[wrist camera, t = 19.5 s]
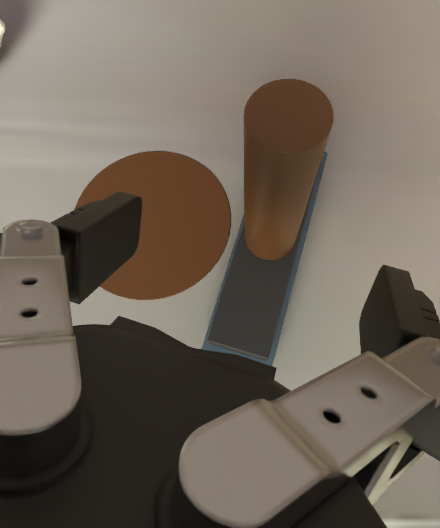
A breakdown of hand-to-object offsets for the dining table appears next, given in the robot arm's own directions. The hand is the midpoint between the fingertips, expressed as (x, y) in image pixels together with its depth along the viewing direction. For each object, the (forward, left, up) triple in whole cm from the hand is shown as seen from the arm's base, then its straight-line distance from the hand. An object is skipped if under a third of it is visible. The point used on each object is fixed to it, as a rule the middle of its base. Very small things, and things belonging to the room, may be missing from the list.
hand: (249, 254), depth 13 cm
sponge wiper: (-3, +3, -10) cm, 11 cm away
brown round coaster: (-8, -3, -10) cm, 13 cm away
